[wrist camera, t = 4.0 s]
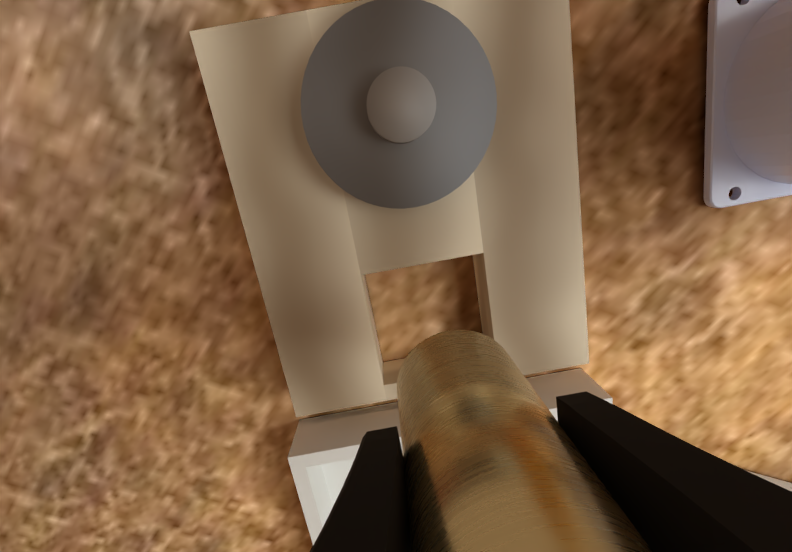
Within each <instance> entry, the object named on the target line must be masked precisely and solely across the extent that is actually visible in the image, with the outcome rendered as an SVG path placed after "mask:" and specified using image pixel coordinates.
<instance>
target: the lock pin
mask: <svg viewBox="0 0 792 552" xmlns="http://www.w3.org/2000/svg"><path fill="white" fill-rule="evenodd" d="M397 399H398V410H399V421H400V431H401V442H402V453H403V460H404V470H405V481H406V492H407V507H408V519H409V529H410V540H411V551H412V552H652V550H651V549H650V547H649V546H648V545H647V543H646V542H645V541H644V539H643V538H642V536H641V535H640V534H639V532H638V531H637V530H636V528H635V527H634V526H633V524H632V523H631V521H630V520H629V519H628V517H627V516H626V515H625V513H624V512H623V510H622V509H621V508H620V506H619V505H618V504H617V502H616V501H615V500H614V498H613V497H612V495H611V494H610V493H609V491H608V490H607V489H606V487H605V486H604V484H603V483H602V482H601V480H600V479H599V478H598V476H597V475H596V474H595V472H594V471H593V469H592V468H591V467H590V465H589V464H588V463H587V461H586V460H585V458H584V457H583V456H582V454H581V453H580V452H579V450H578V449H577V448H576V446H575V445H574V443H573V442H572V441H571V439H570V438H569V437H568V435H567V434H566V432H565V431H564V430H563V428H562V427H561V426H560V424H559V423H558V422H557V420H556V419H555V417H554V416H553V415H552V413H551V412H550V411H549V409H548V408H547V406H546V405H545V404H544V402H543V401H542V400H541V398H540V397H539V396H538V394H537V393H536V391H535V390H534V389H533V387H532V386H531V385H530V383H529V382H528V380H527V379H526V378H525V376H524V375H523V374H522V372H521V371H520V370H519V368H518V367H517V365H516V364H515V363H514V361H513V360H512V359H511V357H510V356H509V354H508V353H507V352H506V350H505V349H504V348H503V347H502V346H501V345H500V344H499V343H498V342H496V341H495V340H494V339H492V338H490V337H489V336H487V335H484V334H482V333H479V332H475V331H470V330H450V331H445V332H441V333H438V334H436V335H433V336H431V337H429V338H427V339H425V340H424V341H422V342H421V343H420V344H418V345H417V346H416V347H415V348H414V349H413V350H412V351H411V352H410V353H409V354H408V356H407V357H406V359H405V360H404V362H403V364H402V366H401V368H400V371H399V374H398V379H397Z"/></svg>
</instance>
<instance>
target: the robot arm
mask: <svg viewBox="0 0 792 552" xmlns="http://www.w3.org/2000/svg"><path fill="white" fill-rule="evenodd" d="M731 189H732V191H733V193H732V196H731V197H730V198H729V195H728V194H729V191H730V190H731ZM789 195H792V0H741V2H740V5H739V4H738V3H737V0H709V4H708V36H707V77H706V118H705V159H704V202H705V204H706V205H707V206H709V207H713V208H724V207H729V206H735V205H740V204H745V203H751V202H756V201H762V200H767V199H773V198H778V197H784V196H789ZM556 404H557V416H558V423H559V424H560V426H561V427H562V428H563V430H564V431H565V432H566V434H567V435H568V437H569V438H570V439H571V441H572V442H573V443H574V445H575V446H576V448H577V449H578V450H579V452H580V453H581V454H582V456H583V457H584V458H585V460H586V461H587V463H588V464H589V465H590V467H591V468H592V469H593V471H594V472H595V474H596V475H597V476H598V478H599V479H600V480H601V482H602V483H603V484H604V486H605V487H606V489H607V490H608V491H609V493H610V494H611V495H612V497H613V498H614V500H615V501H616V502H617V504H618V505H619V506H620V508H621V509H622V510H623V512H624V513H625V515H626V516H627V517H628V519H629V520H630V521H631V523H632V524H633V526H634V527H635V528H636V530H637V531H638V532H639V534H640V535H641V536H642V538H643V539H644V541H645V542H646V543H647V545H648V546H649V547H650V549H651V550H652V552H792V491H789V490H787V489H785V488H783V487H781V486H778V485H776V484H774V483H772V482H769V481H767V480H765V479H763V478H761V477H758V476H756V475H754V474H752V473H750V472H747V471H745V470H743V469H741V468H739V467H737V466H735V465H732V464H730V463H728V462H726V461H724V460H722V459H720V458H718V457H716V456H714V455H711V454H709V453H707V452H705V451H703V450H701V449H699V448H697V447H695V446H693V445H691V444H689V443H687V442H685V441H683V440H681V439H679V438H677V437H675V436H673V435H671V434H669V433H667V432H665V431H663V430H662V429H660V428H658V427H656V426H654V425H652V424H650V423H648V422H646V421H644V420H642V419H640V418H638V417H636V416H634V415H633V414H631V413H629V412H627V411H625V410H623V409H621V408H619V407H617V406H615V405H613V404H611V403H609V402H607V401H605V400H603V399H601V398H599V397H597V396H595V395H593V394H591V393H589V392H586V391H585V392H579V393H574V394H569V395H563V396H558V397H556ZM310 552H412V551H411V540H410V529H409V519H408V507H407V492H406V481H405V470H404V460H403V453H402V448H401V443H400V439H399V434H398V429H397V426H395V427H389V428H384V429H378V430H373V431H367V432H366V434H365V435H364V436H363V438H362V441H361V444H360V446H359V449H358V452H357V454H356V457H355V459H354V462H353V464H352V466H351V469H350V471H349V473H348V476H347V478H346V480H345V482H344V485H343V487H342V489H341V491H340V493H339V495H338V497H337V499H336V501H335V504H334V506H333V508H332V510H331V512H330V514H329V516H328V518H327V520H326V522H325V524H324V526H323V528H322V530H321V532H320V534H319V536H318V537H317V539H316V541H315V543H314V545H313V547H312V548H311V550H310Z"/></svg>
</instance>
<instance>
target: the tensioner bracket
mask: <svg viewBox="0 0 792 552" xmlns="http://www.w3.org/2000/svg"><path fill="white" fill-rule="evenodd" d="M189 32H190V36H191V39H192V43H193V46H194V50H195V54H196V57H197V61H198V65H199V68H200V72H201V75H202V79H203V83H204V86H205V90H206V93H207V97H208V101H209V104H210V108H211V111H212V115H213V119H214V122H215V126H216V129H217V133H218V137H219V140H220V144H221V147H222V151H223V155H224V158H225V162H226V166H227V169H228V173H229V176H230V180H231V184H232V187H233V191H234V194H235V198H236V202H237V205H238V209H239V212H240V216H241V220H242V223H243V227H244V230H245V234H246V238H247V241H248V245H249V248H250V252H251V256H252V259H253V263H254V266H255V270H256V274H257V277H258V281H259V285H260V288H261V292H262V295H263V299H264V303H265V306H266V310H267V313H268V317H269V321H270V324H271V328H272V331H273V335H274V339H275V342H276V346H277V349H278V353H279V357H280V360H281V364H282V367H283V371H284V375H285V378H286V382H287V386H288V389H289V393H290V396H291V400H292V404H293V407H294V411H295V414H296V417H301V416H307V415H312V414H317V413H323V412H328V411H334V410H339V409H345V408H350V407H355V406H361V405H366V404H372V403H377V402H382V401H388V400H393V399H397V379H398V374H399V371H400V368H401V366H402V364H403V362H404V360H405V359H406V358H403V359H398V360H392V361H387V362H383V361H382V356H381V351H380V346H379V341H378V336H377V331H376V326H375V321H374V317H373V312H372V307H371V302H370V297H369V292H368V287H367V282H366V277H365V275H366V274H371V273H377V272H382V271H388V270H393V269H398V268H404V267H409V266H415V265H420V264H426V263H431V262H437V261H442V260H448V259H453V258H458V257H464V256H469V255H472V256H473V264H474V271H475V279H476V287H477V295H478V302H479V310H480V318H481V325H482V333H483V334H484V335H487V336H489V337H490V338H492V339H494V340H495V341H496V342H498V343H499V344H500V345H501V346H502V347H503V348H504V349H505V350H506V352H507V353H508V354H509V356H510V357H511V359H512V360H513V361H514V363H515V364H516V365H517V367H518V368H519V370H520V371H521V372H522V374H523V375H529V374H534V373H540V372H545V371H550V370H556V369H561V368H567V367H572V366H577V365H583V364H588V363H589V351H588V332H587V314H586V296H585V278H584V260H583V242H582V223H581V205H580V187H579V169H578V151H577V133H576V115H575V96H574V78H573V60H572V42H571V24H570V6H569V0H359V1H354V2H348V3H343V4H337V5H332V6H326V7H321V8H315V9H310V10H304V11H299V12H293V13H288V14H282V15H277V16H271V17H266V18H260V19H255V20H249V21H244V22H238V23H233V24H227V25H222V26H216V27H211V28H205V29H200V30H194V31H189Z"/></svg>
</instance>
